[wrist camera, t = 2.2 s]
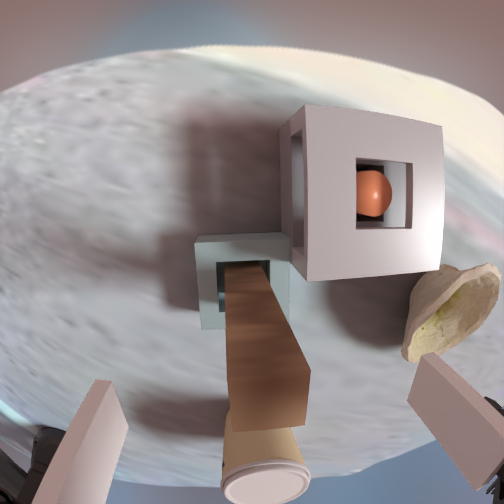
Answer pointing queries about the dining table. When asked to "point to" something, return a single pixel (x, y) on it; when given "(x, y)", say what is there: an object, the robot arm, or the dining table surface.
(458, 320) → the bowl
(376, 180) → the button
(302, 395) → the brown wooden bar
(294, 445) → the coffee cup
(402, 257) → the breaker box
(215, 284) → the holder
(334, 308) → the dining table surface
